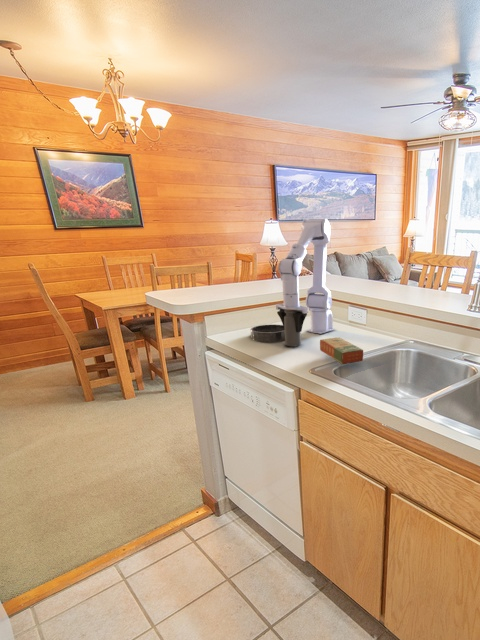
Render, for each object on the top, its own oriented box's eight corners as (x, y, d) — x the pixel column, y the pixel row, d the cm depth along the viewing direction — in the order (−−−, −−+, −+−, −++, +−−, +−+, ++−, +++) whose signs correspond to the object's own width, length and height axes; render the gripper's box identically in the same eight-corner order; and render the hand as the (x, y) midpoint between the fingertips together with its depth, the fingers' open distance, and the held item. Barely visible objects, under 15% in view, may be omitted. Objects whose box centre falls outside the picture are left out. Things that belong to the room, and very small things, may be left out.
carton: (339, 347, 149) (340, 336, 148) (363, 361, 137) (364, 349, 135) (319, 350, 145) (319, 339, 144) (342, 364, 133) (342, 352, 131)
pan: (271, 332, 176) (270, 322, 174) (297, 337, 167) (296, 327, 166) (243, 339, 165) (242, 329, 163) (269, 344, 156) (269, 334, 155)
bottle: (302, 342, 159) (300, 303, 153) (299, 346, 153) (297, 306, 147) (287, 341, 159) (285, 302, 153) (284, 346, 154) (281, 306, 148)
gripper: (269, 293, 150) (271, 329, 155) (298, 296, 142) (299, 335, 147) (282, 291, 155) (284, 326, 160) (311, 294, 147) (312, 331, 152)
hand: (292, 330), depth 154 cm, fingers closed on bottle, 6 cm apart
